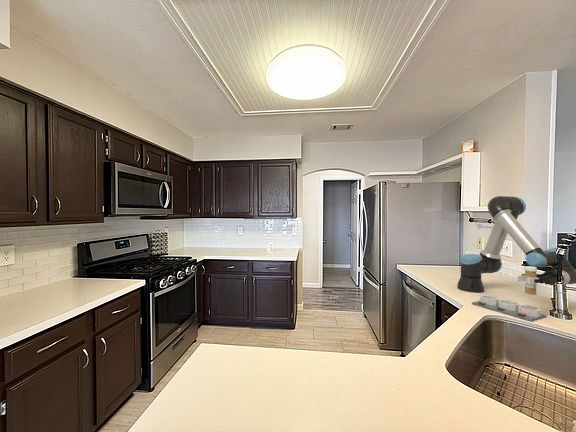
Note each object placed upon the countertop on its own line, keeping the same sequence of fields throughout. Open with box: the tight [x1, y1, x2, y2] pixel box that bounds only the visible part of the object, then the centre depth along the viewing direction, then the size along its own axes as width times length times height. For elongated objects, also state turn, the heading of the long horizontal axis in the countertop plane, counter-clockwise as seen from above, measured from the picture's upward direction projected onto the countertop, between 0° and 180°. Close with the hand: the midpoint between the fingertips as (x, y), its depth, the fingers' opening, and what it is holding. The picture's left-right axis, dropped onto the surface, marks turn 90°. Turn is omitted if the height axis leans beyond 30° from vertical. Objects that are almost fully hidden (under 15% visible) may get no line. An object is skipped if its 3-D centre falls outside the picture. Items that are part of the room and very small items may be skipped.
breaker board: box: [471, 294, 547, 323], centre depth 145 cm, size 27×15×4 cm, turn 26°
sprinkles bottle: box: [524, 265, 538, 296], centre depth 138 cm, size 5×5×14 cm
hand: (523, 279), depth 136 cm, fingers closed on sprinkles bottle, 4 cm apart
